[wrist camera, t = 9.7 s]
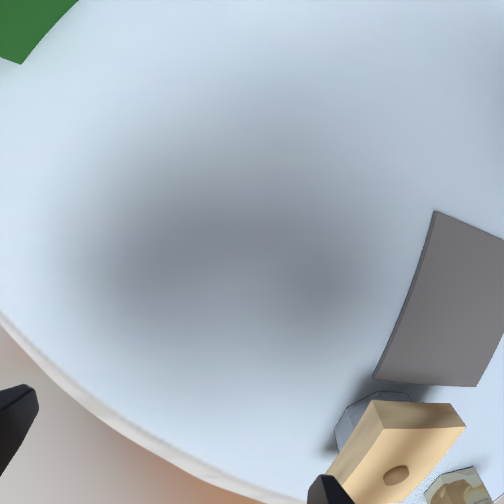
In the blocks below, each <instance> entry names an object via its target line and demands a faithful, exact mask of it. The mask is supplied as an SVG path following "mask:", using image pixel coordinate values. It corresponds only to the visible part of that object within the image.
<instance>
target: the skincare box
mask: <svg viewBox="0 0 504 504" xmlns="http://www.w3.org/2000/svg"><path fill="white" fill-rule="evenodd" d="M424 496H425V499H426V501H427V504H494V503H493V501H492V499H491V497H490V495H489V493H488V491H487V490H486V488H485V486H484V484H483V482H482V480H481V478H480V476H479V474H478V473H477V471H476V469H475V467H472V468H468V469H464V470H460V471H455V472H451V473H447V474H443V475H440V476H439V477H438V478H437V479H436V481H435V482H434V483H433V484H432V485H431V486H430V487H429V489H428V490H427V491H426V492H425V493H424Z"/></svg>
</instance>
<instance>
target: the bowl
mask: <svg viewBox="0 0 504 504" xmlns="http://www.w3.org/2000/svg"><path fill="white" fill-rule="evenodd" d="M371 400H382V401H395V402H411V400H410V399H409V397H408V395H407V394H406V393H395V392H384V391H378V392H376V393H374V394H372V395H370V396H368V397H366V398H365V399H363V400H361V401H359V402H357V403H355V404H353V405H351V406H349V407H348V408H347V409H346V410H345V412H344V414H343V416H342V418H341V419H340V421H339V423H338V425H337V426H336V428H335V430H334V432H335V437H336V441H337V445H338V450H339V453H340V451H341V450H342V448H343V447H344V445H345V443H346V442H347V440H348V439H349V437H350V436H351V434H352V432H353V431H354V429H355V427H356V426H357V424H358V423H359V421H360V419H361V417H362V416H363V414H364V412H365V411H366V409H367V407H368V405H369V403H370V402H371Z"/></svg>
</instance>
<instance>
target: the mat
mask: <svg viewBox="0 0 504 504" xmlns="http://www.w3.org/2000/svg"><path fill="white" fill-rule="evenodd" d="M503 333H504V241H503V240H501V239H499V238H496V237H494V236H492V235H490V234H488V233H486V232H484V231H481V230H479V229H477V228H475V227H472V226H470V225H468V224H466V223H463V222H461V221H459V220H456V219H454V218H451V217H449V216H447V215H444V214H442V213H439V212H436V211H434V213H433V217H432V220H431V224H430V228H429V231H428V235H427V238H426V241H425V245H424V248H423V251H422V254H421V258H420V261H419V264H418V267H417V270H416V273H415V276H414V278H413V281H412V284H411V287H410V290H409V292H408V295H407V298H406V300H405V303H404V306H403V308H402V311H401V313H400V316H399V318H398V321H397V323H396V325H395V328H394V330H393V332H392V335H391V337H390V339H389V342H388V344H387V346H386V348H385V350H384V353H383V355H382V357H381V359H380V361H379V363H378V365H377V367H376V369H375V372H374V374H373V377H374V379H376V380H384V381H393V382H403V383H414V384H426V385H441V386H461V387H476V386H477V384H478V382H479V380H480V379H481V377H482V375H483V373H484V371H485V370H486V368H487V366H488V364H489V362H490V360H491V358H492V356H493V354H494V352H495V350H496V348H497V346H498V344H499V342H500V339H501V337H502V335H503Z"/></svg>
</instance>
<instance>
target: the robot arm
mask: <svg viewBox="0 0 504 504" xmlns="http://www.w3.org/2000/svg"><path fill="white" fill-rule="evenodd" d="M38 411H39V404H38V400H37V396H36V391H35V390H34V389H33V388H32V387H30V386H28V385H26V384H22V385H18V386H15V387H12V388H8V389H5V390H1V391H0V476H1V475H2V473H3V472H4V470H5V469H6V467H7V465H8V464H9V462H10V461H11V459H12V458H13V456H14V455H15V453H16V452H17V450H18V449H19V447H20V445H21V444H22V442H23V440H24V438H25V436H26V434H27V432H28V430H29V428H30V427H31V425H32V423H33V421H34V419H35V417H36V415H37V413H38ZM307 504H355V502H354V501H353V500H352V499H351V497H350V496H349V495H348V494H347V492H346V491H345V490H344V489H343V487H342V486H341V485H340V483H339V482H338V481H337V480H336V478H335V477H334V476H333V475H325V474H321V475H319V476H318V477H317V478H316V480H315V481H314V482H313V484H312V485H311V486H310V488H309V490H308V497H307Z"/></svg>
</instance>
